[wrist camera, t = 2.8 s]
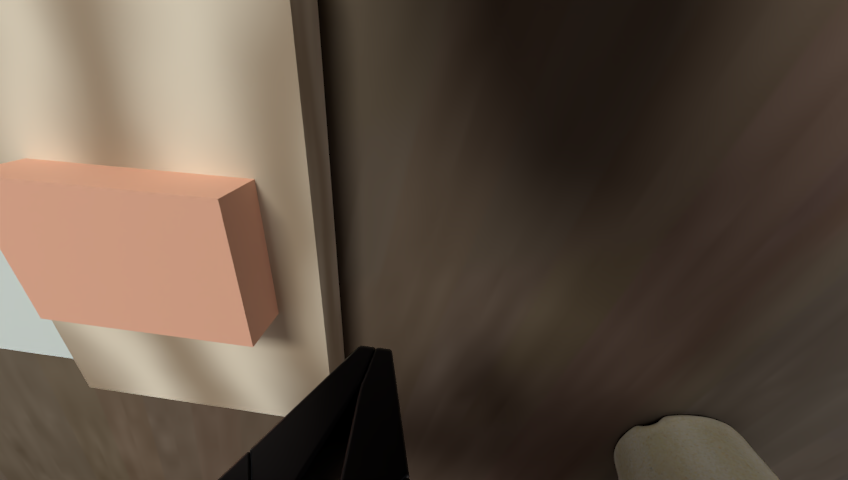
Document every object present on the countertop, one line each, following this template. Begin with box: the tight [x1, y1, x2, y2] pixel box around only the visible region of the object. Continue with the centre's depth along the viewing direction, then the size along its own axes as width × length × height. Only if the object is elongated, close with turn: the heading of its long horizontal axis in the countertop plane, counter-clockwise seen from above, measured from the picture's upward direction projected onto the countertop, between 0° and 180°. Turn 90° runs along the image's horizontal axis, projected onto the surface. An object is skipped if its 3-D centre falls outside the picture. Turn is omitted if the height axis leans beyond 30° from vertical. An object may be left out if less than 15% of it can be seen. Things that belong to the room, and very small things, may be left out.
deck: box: [0, 0, 345, 417], centre depth 15 cm, size 14×20×2 cm
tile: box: [0, 158, 279, 347], centre depth 13 cm, size 9×6×2 cm, turn 87°
